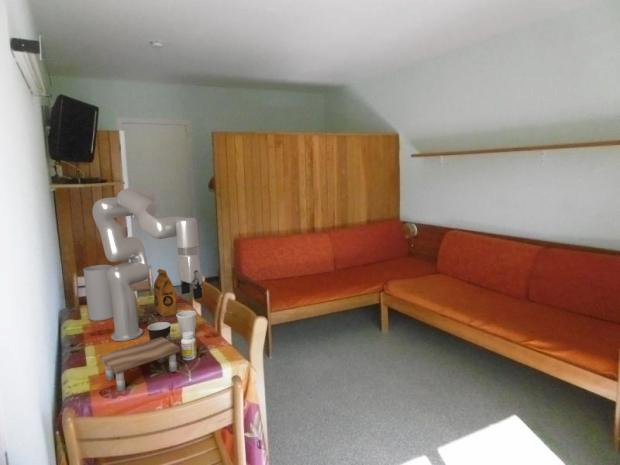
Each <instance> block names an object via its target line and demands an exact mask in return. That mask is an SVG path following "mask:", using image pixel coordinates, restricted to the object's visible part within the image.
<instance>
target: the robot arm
mask: <svg viewBox="0 0 620 465" xmlns="http://www.w3.org/2000/svg"><path fill="white" fill-rule="evenodd" d="M157 211H158V206H157V203H156V202H155V195H154V192H153V191H152V190H151V189H150V188H148V187H126V188H123V189H122V190H120V191H119V192H118V193H117V196H115V197H113V196H112V197H105V198H104V197H103V198H102V199H98V200H97V201H95V202H94V203H93V206H92V217H93V220H94V222H95V225H96V227H97V230H98V231H99V234H100V239H101V242H102V246H103V251H104V254H105V257H106V259H107V260H108V261H109V262H111V263H117V262H121V261H122V262H123V261H127V260H130V261H129V262H124V263H120V264H115V265H112V267H111V268H110V269H109V270H108V272H107V281H108V284H109V287H110V292H111V298H112V307H113V324H114V332H113V333H112V334H111V335H110V337H111V340H113V341H115V342H125V341H132V340H135V339H137V338H139V337H141V336H142V335H143V334H144V330H143V329H142V328H140V327H139V315H138V307H137V306H138V304H137V296H136V295H137V294H136V293H135V291H134V290H133V288H131V285H135V284H137V283H141V282H144V281H146V280H147V279H148V278H149V276H150V269H149V268H150V267H149V263H148V260H147V254H146V250H145V248H144V247H145V246H144V244H143V243H142V241H141V239H140V238H138V237H136V236H127V237H125V236H124V232H123V230H122V226H121V225H120V224H119V223H118V222H117V221H116V220H115V219H116V218H123V217H124V218H125V217H133V216H135V217H136V218H138V223H139V224H138V225H139V227H140V229H141V230H142V231H143V232H144V233H145V234H147V235H149V236H150V237H152V238H154V239H157V240H163V239H169V238H175V237H176V244H177V257H178V258H177V272H178V273H177V277H178V280H179V281H180V287H181V294H182V295H185V294H189V293H190V292H191V285H190V284H192V286H193V288H192V294H193V299H194V300H198V299H202V298H203V289H202V288H203V282H204V281H203V280H204V277H203V276H202V270H201V261H200V258H199V256H200V248H199V233H198V231H199V230H198V220H197V219H196V218H194V217H182V216H168V217H160V218H156V217H155V216H156V215H157ZM114 218H115V219H114Z"/></svg>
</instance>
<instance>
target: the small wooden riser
mask: <svg viewBox="0 0 620 465" xmlns="http://www.w3.org/2000/svg"><path fill="white" fill-rule="evenodd" d="M180 348H181V347H180V346H179V345H177V344H175V343H174V342H172V341H171V340H170V341H168V340H167V339H165V338H163V337H159V338H156V339H153V340H150V339H149V340H146V341H144V342H139V343H137V344H134V345H130V346H128V347H125V348H121V349H118V350H115V351H111V352H108V353H105V354H101V355H99V360H100V362H102V363H103V364H104V369H105V371H104V372H105V378H106V381H110V382H111V381H113V380H114V379H115V381H116V382H115V384H116V391H117V392H123V391H125V390H126V382H125V371H127V370H129V369H132V368H135V367H138V366H141V365H143V364H144V365H145V364H147V363H150V362H154V361H155V360H157V363H158V364H159V363H160V364H162V363H164V362H165V357H167V356H168V363H169V364H168V367H169V372H171V373H172V372H176V371H177V370H178V364H177V353H178V352H180V351H181V349H180Z"/></svg>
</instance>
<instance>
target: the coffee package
mask: <svg viewBox="0 0 620 465" xmlns="http://www.w3.org/2000/svg"><path fill="white" fill-rule="evenodd" d="M157 273H158V275H157V277H156V279H155V280H154V282H153V298H154V301H153V302H154V306H155V311H156V312H157V313H158V314H159V315H160V316H161V317H163V318H165V317H171V316H176V314H177V313H178V305H177V304H178V303H177V294H176V292H175V291H176V290H175V288H174V285H173V283H172V281H171V279H170V277H169V275H168V274H167V271H166V270H164V269H161V268H159V269H157Z"/></svg>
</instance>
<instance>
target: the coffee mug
mask: <svg viewBox="0 0 620 465" xmlns="http://www.w3.org/2000/svg"><path fill="white" fill-rule="evenodd" d="M171 326H172V325H171V322H167V321H161V322H155V323H151V324H149V325H148V326H147V332H148V338H149V340H153V339H156V338H159V337H163V338H165V339H167V340H168V341H170V342H171V330H172V329H171Z"/></svg>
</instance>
